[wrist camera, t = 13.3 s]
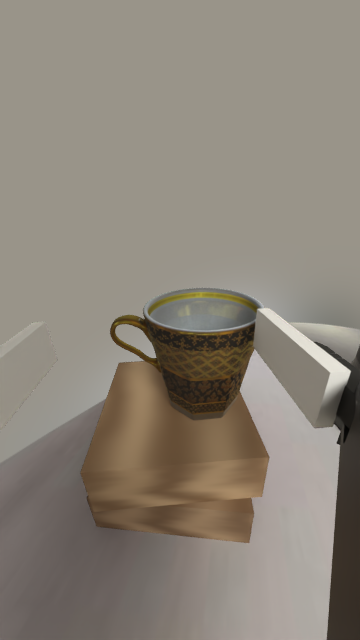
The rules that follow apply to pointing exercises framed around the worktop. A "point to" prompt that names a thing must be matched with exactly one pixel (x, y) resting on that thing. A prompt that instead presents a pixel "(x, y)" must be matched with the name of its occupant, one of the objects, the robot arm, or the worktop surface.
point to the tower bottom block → (186, 519)
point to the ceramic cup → (198, 346)
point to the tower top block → (168, 449)
